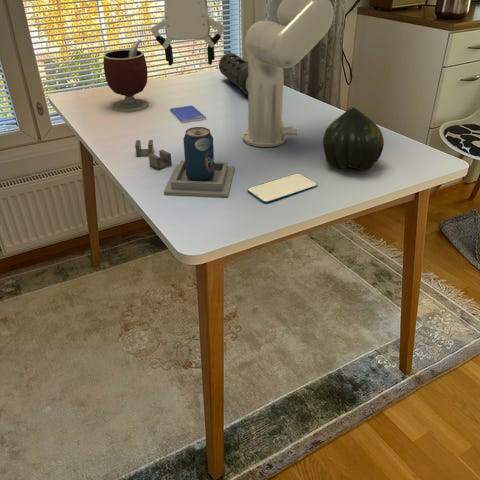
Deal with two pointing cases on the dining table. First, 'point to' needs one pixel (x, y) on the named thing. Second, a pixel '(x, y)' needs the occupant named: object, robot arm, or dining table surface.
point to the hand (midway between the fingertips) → (190, 63)
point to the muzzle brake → (235, 70)
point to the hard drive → (187, 114)
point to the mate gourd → (126, 77)
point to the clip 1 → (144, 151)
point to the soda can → (199, 154)
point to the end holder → (201, 182)
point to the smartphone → (281, 188)
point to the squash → (353, 141)
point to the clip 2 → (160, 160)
